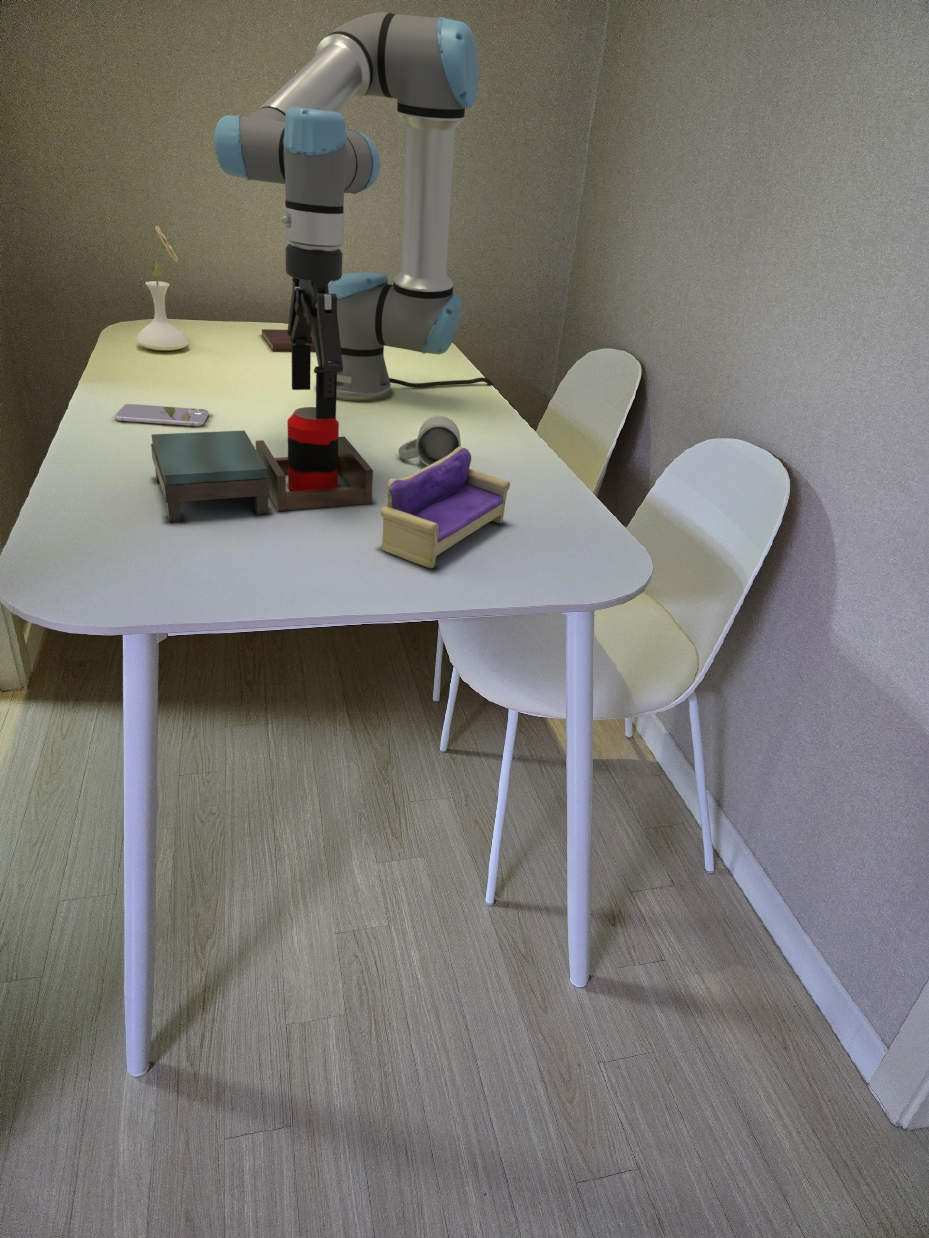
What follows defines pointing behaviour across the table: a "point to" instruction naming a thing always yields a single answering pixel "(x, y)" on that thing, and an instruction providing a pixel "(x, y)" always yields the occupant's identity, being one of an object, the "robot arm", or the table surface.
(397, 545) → the toy sofa
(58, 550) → the table surface
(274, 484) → the can rack
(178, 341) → the flower in vase
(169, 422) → the mobile phone
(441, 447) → the ceramic mug
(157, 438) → the footstool
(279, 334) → the notebook
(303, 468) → the soda can
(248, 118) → the robot arm
